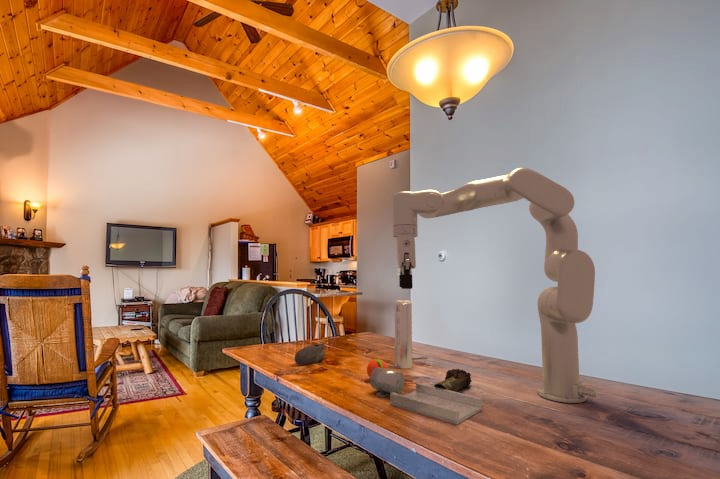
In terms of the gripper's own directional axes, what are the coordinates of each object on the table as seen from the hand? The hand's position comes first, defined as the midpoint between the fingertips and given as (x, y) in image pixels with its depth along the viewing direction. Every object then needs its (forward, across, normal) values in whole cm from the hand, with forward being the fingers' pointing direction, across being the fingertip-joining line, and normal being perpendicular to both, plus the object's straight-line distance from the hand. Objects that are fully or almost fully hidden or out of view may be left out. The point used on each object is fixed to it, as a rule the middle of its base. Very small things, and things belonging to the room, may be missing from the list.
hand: (405, 287), depth 115 cm
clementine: (+31, +12, +9) cm, 35 cm away
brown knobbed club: (+32, +4, -14) cm, 35 cm away
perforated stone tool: (+32, +35, +35) cm, 59 cm away
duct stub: (+31, 0, +6) cm, 32 cm away
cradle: (+31, -11, -7) cm, 34 cm away
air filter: (+31, +32, -1) cm, 45 cm away
